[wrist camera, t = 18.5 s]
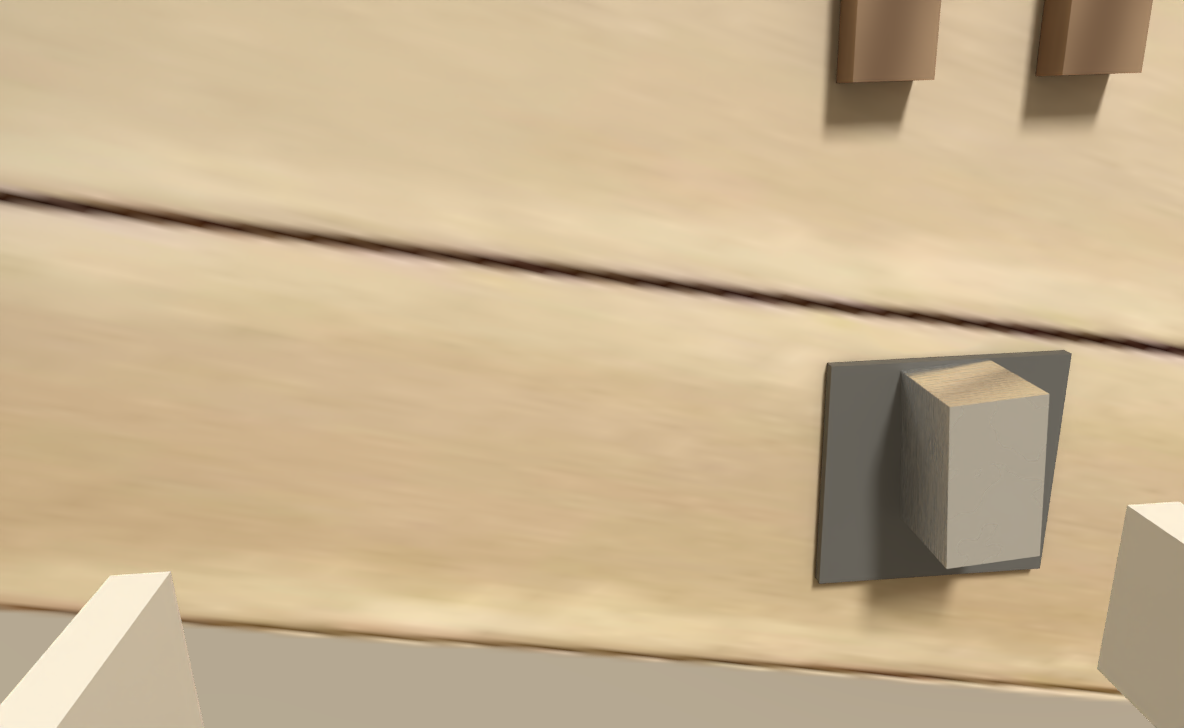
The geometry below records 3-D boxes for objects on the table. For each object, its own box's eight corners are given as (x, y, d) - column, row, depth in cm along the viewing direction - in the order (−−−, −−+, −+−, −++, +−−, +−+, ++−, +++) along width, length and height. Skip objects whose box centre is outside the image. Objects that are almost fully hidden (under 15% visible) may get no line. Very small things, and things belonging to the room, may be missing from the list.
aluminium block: (900, 517, 43) (946, 569, 39) (900, 370, 41) (949, 407, 36) (984, 505, 44) (1039, 556, 39) (989, 359, 41) (1049, 393, 36)
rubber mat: (815, 577, 45) (819, 583, 44) (827, 362, 41) (831, 366, 41) (1033, 562, 46) (1039, 568, 45) (1064, 350, 42) (1071, 353, 41)
